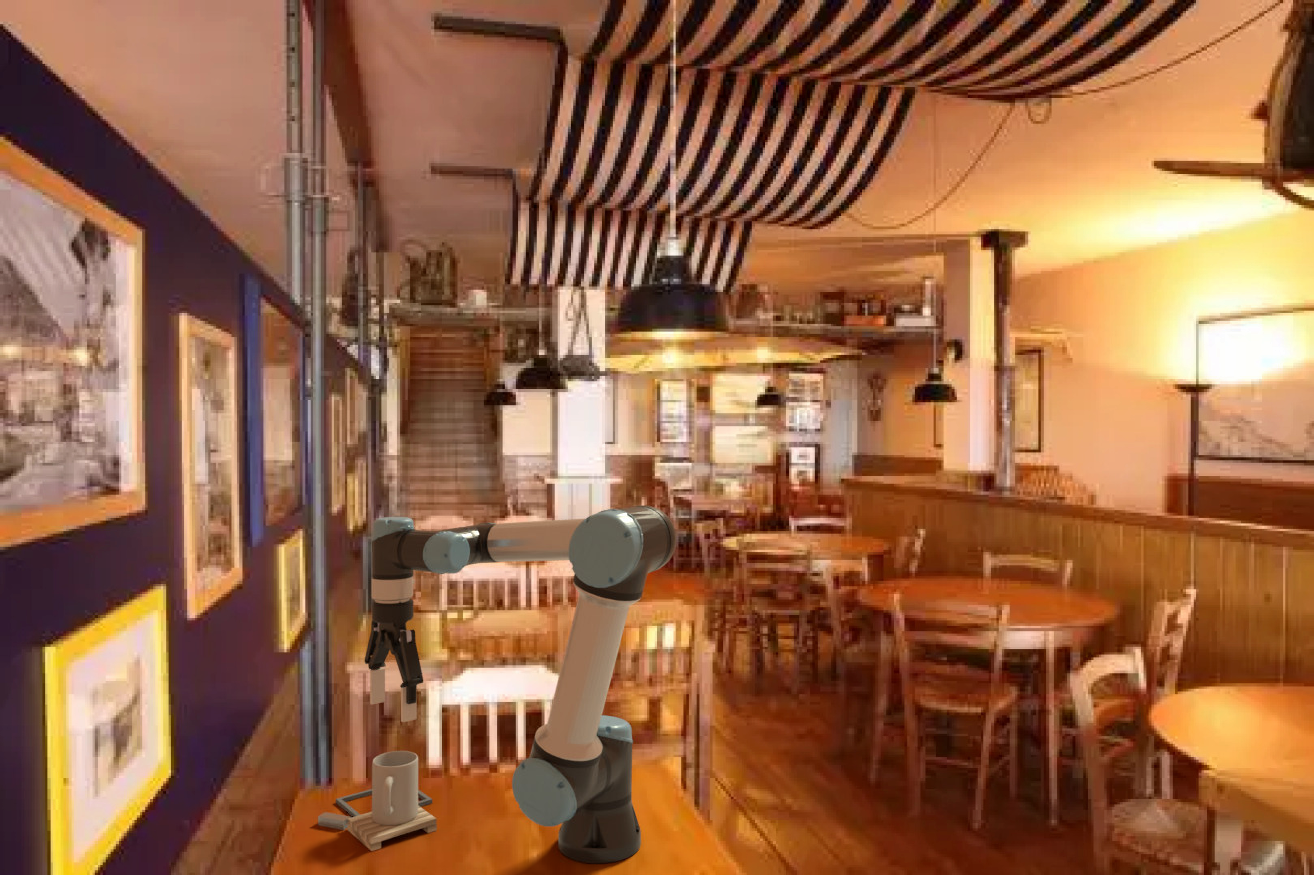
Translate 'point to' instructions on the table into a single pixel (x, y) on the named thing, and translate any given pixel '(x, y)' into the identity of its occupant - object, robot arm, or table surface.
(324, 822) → the grey rectangular bar
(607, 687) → the robot arm
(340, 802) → the socket frame
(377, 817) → the mug
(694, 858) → the table surface
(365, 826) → the rack
